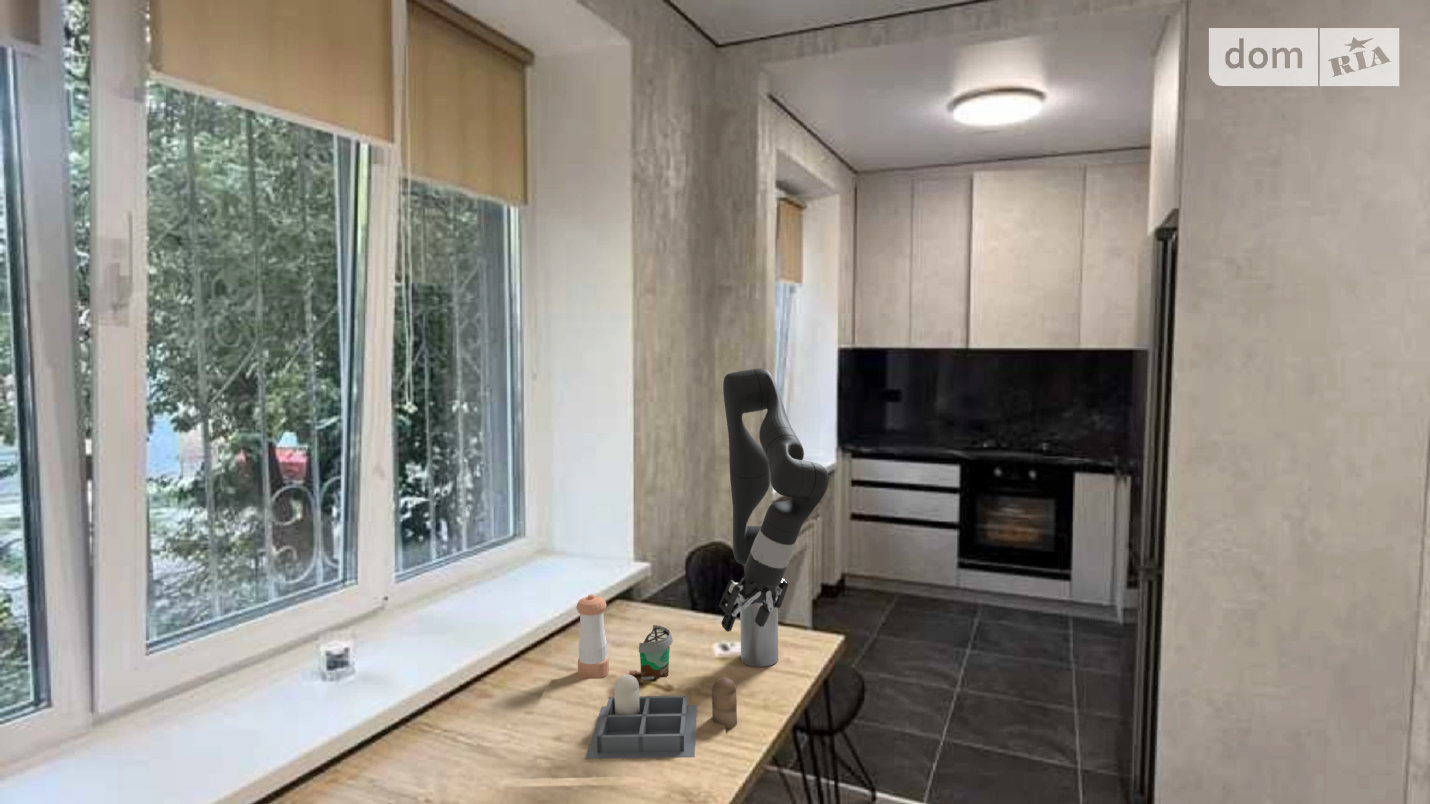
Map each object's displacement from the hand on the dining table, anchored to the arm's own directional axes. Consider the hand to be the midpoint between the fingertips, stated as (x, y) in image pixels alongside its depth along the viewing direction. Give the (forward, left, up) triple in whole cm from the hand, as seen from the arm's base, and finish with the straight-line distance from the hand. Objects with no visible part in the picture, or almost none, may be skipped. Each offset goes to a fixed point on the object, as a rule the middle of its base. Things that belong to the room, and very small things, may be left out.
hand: (742, 626), depth 146 cm
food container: (-29, -19, -23) cm, 41 cm away
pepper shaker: (-31, -35, -23) cm, 52 cm away
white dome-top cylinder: (-5, -24, -21) cm, 32 cm away
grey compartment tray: (-2, -20, -22) cm, 30 cm away
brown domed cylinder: (-6, -4, -22) cm, 23 cm away
